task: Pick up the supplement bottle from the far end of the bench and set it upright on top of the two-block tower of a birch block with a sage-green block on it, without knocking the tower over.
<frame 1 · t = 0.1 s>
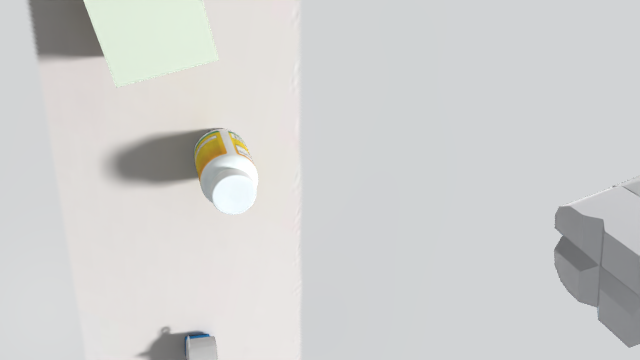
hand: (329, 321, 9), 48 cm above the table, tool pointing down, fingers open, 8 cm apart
tower top block: (148, 9, 47), point 5 cm above the table, touching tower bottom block
supplement bottle: (219, 150, 59), on the table
electric motor: (191, 341, 70), on the table
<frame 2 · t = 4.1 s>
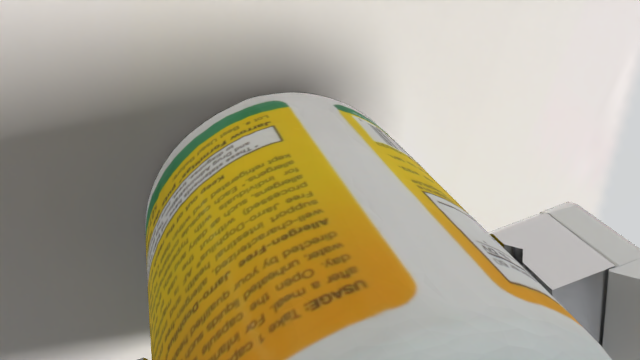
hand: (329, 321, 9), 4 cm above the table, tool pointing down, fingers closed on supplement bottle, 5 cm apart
supplement bottle: (273, 204, 12), on the table, touching gripper
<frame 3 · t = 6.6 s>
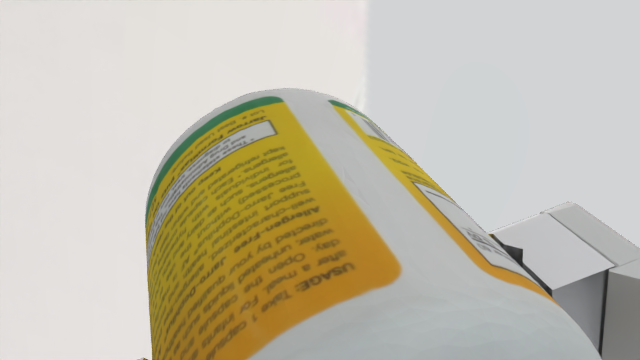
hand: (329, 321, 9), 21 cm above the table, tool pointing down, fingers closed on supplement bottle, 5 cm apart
supplement bottle: (270, 198, 13), point 16 cm above the table, touching gripper
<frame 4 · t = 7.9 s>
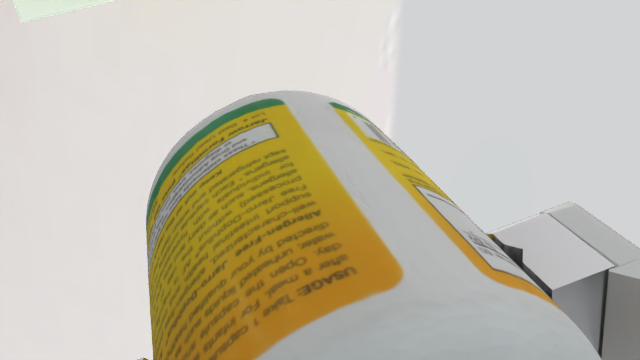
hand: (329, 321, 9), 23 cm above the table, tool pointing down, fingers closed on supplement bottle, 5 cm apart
supplement bottle: (271, 200, 13), point 19 cm above the table, touching gripper
when the fingers open (15 cm above the table, at t = 11.6 s): supplement bottle stays where it is, point 10 cm above the table.
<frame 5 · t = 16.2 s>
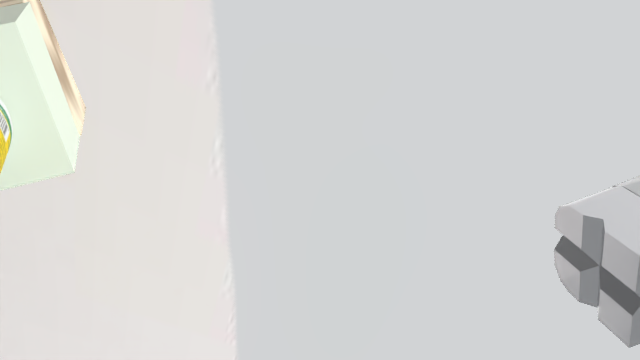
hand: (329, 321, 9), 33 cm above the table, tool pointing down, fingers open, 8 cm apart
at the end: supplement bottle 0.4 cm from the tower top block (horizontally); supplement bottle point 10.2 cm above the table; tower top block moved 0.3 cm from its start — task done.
